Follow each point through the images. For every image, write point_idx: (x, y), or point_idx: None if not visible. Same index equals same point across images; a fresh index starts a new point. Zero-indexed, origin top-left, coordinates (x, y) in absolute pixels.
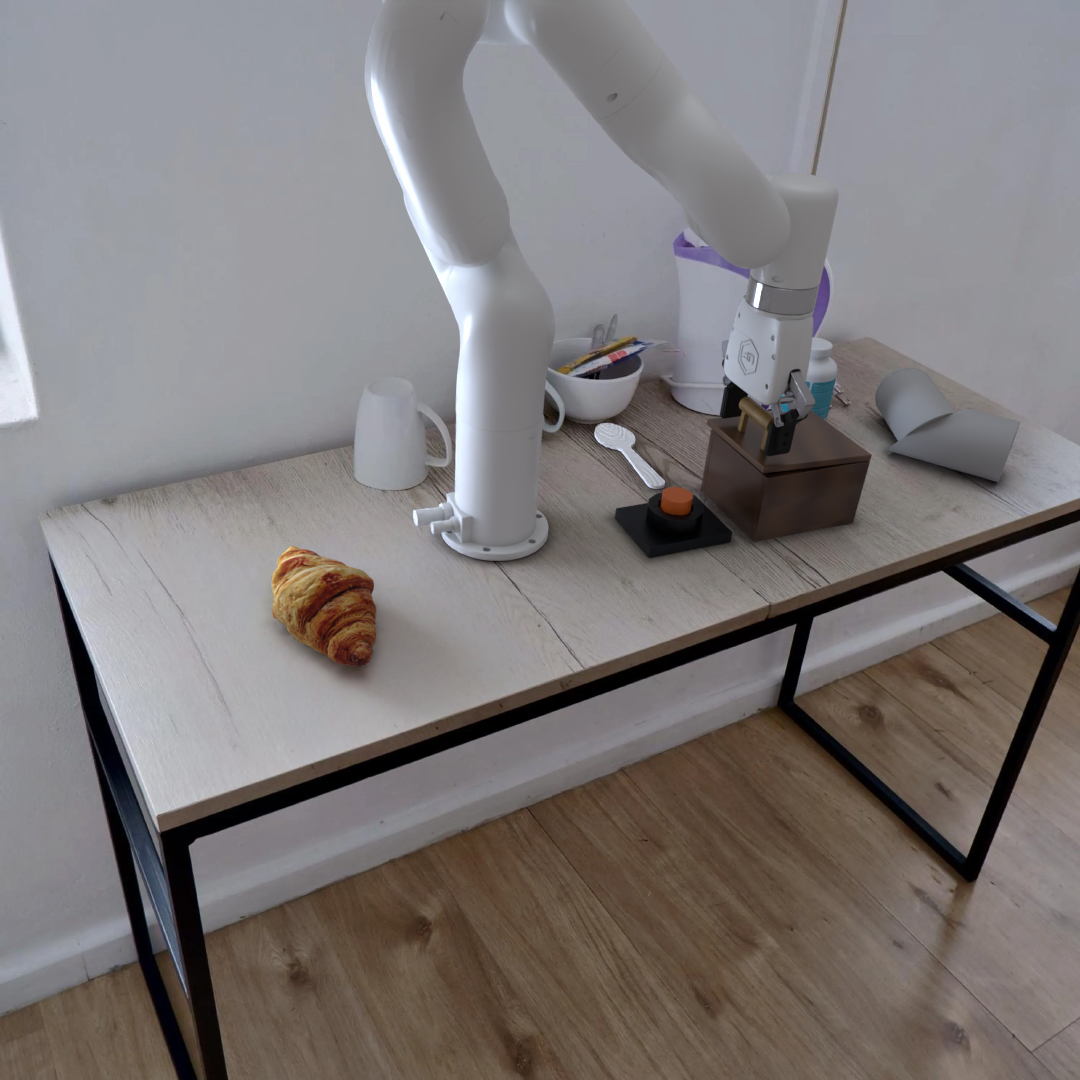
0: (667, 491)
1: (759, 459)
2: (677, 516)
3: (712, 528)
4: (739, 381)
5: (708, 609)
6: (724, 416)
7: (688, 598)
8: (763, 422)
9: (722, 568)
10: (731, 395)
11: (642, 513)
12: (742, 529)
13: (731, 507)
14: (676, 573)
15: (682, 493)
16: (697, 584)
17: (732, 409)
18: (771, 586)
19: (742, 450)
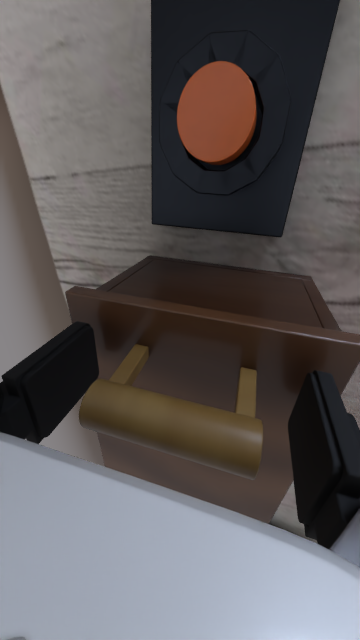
0: (238, 90)
1: (99, 307)
2: (178, 96)
3: (171, 195)
4: (137, 537)
5: (15, 62)
6: (308, 376)
7: (41, 37)
8: (108, 393)
9: (105, 162)
10: (321, 455)
11: (280, 56)
12: (178, 260)
13: (211, 269)
14: (107, 56)
15: (214, 134)
16: (74, 84)
17: (304, 413)
18: (58, 208)
19: (157, 305)
